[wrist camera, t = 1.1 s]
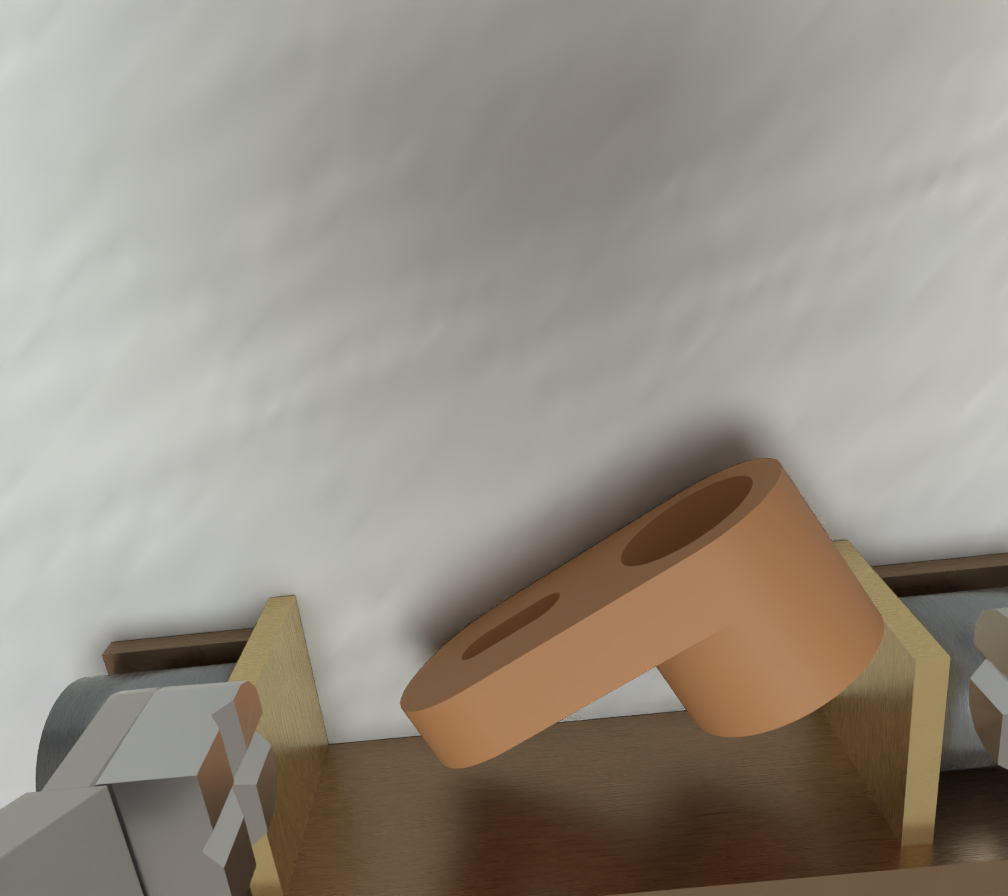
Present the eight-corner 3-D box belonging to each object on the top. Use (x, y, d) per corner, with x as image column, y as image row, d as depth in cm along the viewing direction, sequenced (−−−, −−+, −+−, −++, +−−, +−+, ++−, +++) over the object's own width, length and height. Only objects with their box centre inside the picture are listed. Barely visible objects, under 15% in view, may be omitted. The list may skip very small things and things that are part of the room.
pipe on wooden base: (81, 616, 38) (-54, 771, 29) (1044, 520, 37) (1232, 648, 28) (140, 795, 42) (38, 983, 32) (1019, 712, 41) (1176, 884, 31)
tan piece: (802, 489, 27) (914, 658, 27) (761, 442, 35) (849, 573, 36) (375, 742, 31) (481, 886, 32) (427, 648, 39) (510, 763, 40)
